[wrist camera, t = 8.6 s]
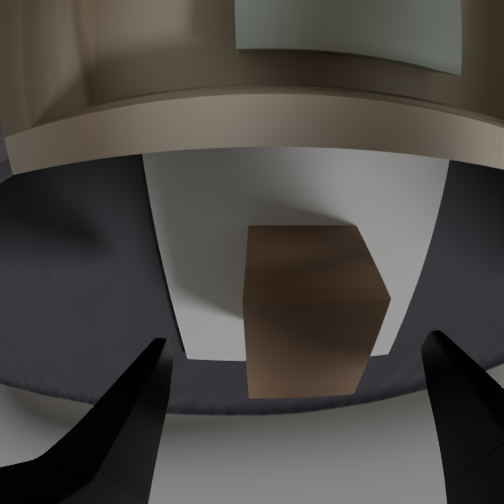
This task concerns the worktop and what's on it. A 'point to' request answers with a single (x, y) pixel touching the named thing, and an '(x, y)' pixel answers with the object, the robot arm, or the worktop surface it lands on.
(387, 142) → the slot box
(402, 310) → the grey mat
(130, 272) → the worktop surface
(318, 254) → the walnut block
